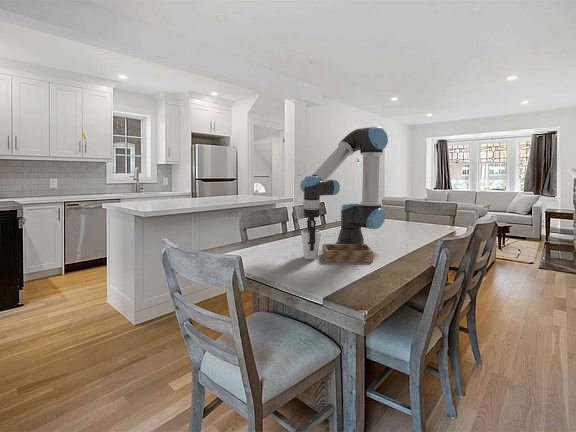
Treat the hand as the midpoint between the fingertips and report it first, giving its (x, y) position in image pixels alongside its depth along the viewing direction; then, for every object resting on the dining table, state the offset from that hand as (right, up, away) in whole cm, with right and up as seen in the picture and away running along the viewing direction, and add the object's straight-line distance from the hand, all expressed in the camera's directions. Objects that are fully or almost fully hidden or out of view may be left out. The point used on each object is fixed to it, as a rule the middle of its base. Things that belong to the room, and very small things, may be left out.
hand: (310, 254), depth 162 cm
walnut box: (+17, -2, +1) cm, 18 cm away
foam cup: (0, -2, 0) cm, 2 cm away
